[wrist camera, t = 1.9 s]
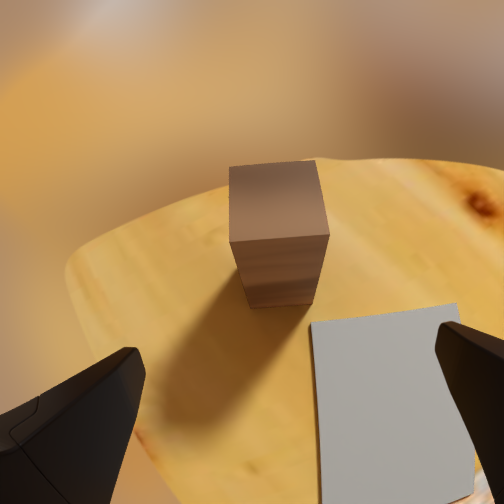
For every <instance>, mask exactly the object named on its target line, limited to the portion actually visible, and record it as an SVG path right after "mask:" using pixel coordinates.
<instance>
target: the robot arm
mask: <svg viewBox="0 0 504 504" xmlns="http://www.w3.org/2000/svg"><path fill="white" fill-rule="evenodd" d="M435 354H436V357H437V359H438V362H439V364H440V367H441V370H442V372H443V375H444V378H445V381H446V384H447V386H448V389H449V391H450V394H451V396H452V398H453V400H454V402H455V404H456V407H457V409H458V411H459V413H460V415H461V417H462V420H463V422H464V424H465V426H466V429H467V431H468V433H469V436H470V438H471V440H472V443H473V445H474V448H475V450H476V453H477V455H478V458H479V460H480V463H481V465H482V468H483V470H484V473H485V476H486V479H487V481H488V484H489V487H490V490H491V493H492V496H493V499H494V502H495V504H504V340H502V339H499V338H497V337H494V336H491V335H489V334H486V333H483V332H481V331H478V330H475V329H473V328H470V327H467V326H465V325H462V324H459V323H457V322H454V321H448V322H443V323H441V324H440V325H439V328H438V333H437V337H436V342H435ZM145 376H146V372H145V367H144V364H143V361H142V358H141V355H140V352H139V350H138V349H137V348H136V347H124V348H122V349H120V350H118V351H117V352H115V353H113V354H111V355H110V356H108V357H106V358H104V359H103V360H101V361H99V362H97V363H96V364H94V365H92V366H90V367H89V368H87V369H85V370H83V371H82V372H80V373H78V374H76V375H74V376H73V377H71V378H69V379H68V380H66V381H64V382H62V383H60V384H58V385H57V386H55V387H53V388H51V389H50V390H48V391H46V392H44V393H42V394H41V395H40V396H37V397H35V398H33V399H31V400H30V401H28V402H26V403H24V404H22V405H20V406H18V407H16V408H14V409H12V410H10V411H8V412H6V413H4V414H1V415H0V504H110V501H111V498H112V494H113V491H114V487H115V484H116V481H117V478H118V474H119V471H120V468H121V464H122V461H123V458H124V455H125V452H126V449H127V446H128V442H129V439H130V436H131V433H132V430H133V427H134V424H135V421H136V418H137V414H138V409H139V404H140V400H141V395H142V390H143V386H144V381H145Z"/></svg>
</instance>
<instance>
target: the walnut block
mask: <svg viewBox="0 0 504 504" xmlns="http://www.w3.org/2000/svg"><path fill="white" fill-rule="evenodd" d="M329 236H330V232H329V227H328V221H327V216H326V211H325V206H324V201H323V196H322V191H321V186H320V181H319V177H318V172H317V167H316V163H315V160H312V161H294V162H280V163H268V164H256V165H244V166H234V167H229V243H230V246H231V249H232V252H233V255H234V259H235V262H236V265H237V268H238V271H239V274H240V277H241V281H242V284H243V287H244V290H245V293H246V296H247V299H248V302H249V305H250V309H253V308H267V307H281V306H293V305H305V304H312V303H313V300H314V296H315V292H316V288H317V284H318V281H319V277H320V273H321V269H322V265H323V261H324V257H325V253H326V248H327V244H328V240H329Z"/></svg>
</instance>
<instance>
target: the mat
mask: <svg viewBox="0 0 504 504" xmlns="http://www.w3.org/2000/svg"><path fill="white" fill-rule="evenodd" d="M448 321H454V322H457V323H459V324H461V321H460V317H459V312H458V307H457V303H452V304H446V305H441V306H435V307H428V308H422V309H416V310H409V311H402V312H395V313H388V314H380V315H373V316H365V317H356V318H347V319H338V320H329V321H319V322H311V332H312V343H313V354H314V365H315V378H316V391H317V406H318V422H319V439H320V461H321V489H322V504H448V503H451V502H453V501H456V500H458V499H461V498H463V497H466V496H468V495H470V494H472V493H474V474H475V448H474V445H473V443H472V440H471V438H470V436H469V433H468V431H467V429H466V426H465V424H464V422H463V420H462V417H461V415H460V413H459V411H458V409H457V407H456V404H455V402H454V400H453V398H452V396H451V394H450V391H449V389H448V386H447V384H446V381H445V378H444V375H443V372H442V370H441V367H440V364H439V362H438V359H437V357H436V354H435V342H436V337H437V333H438V328H439V325H440V324H441V323H443V322H448Z"/></svg>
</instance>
